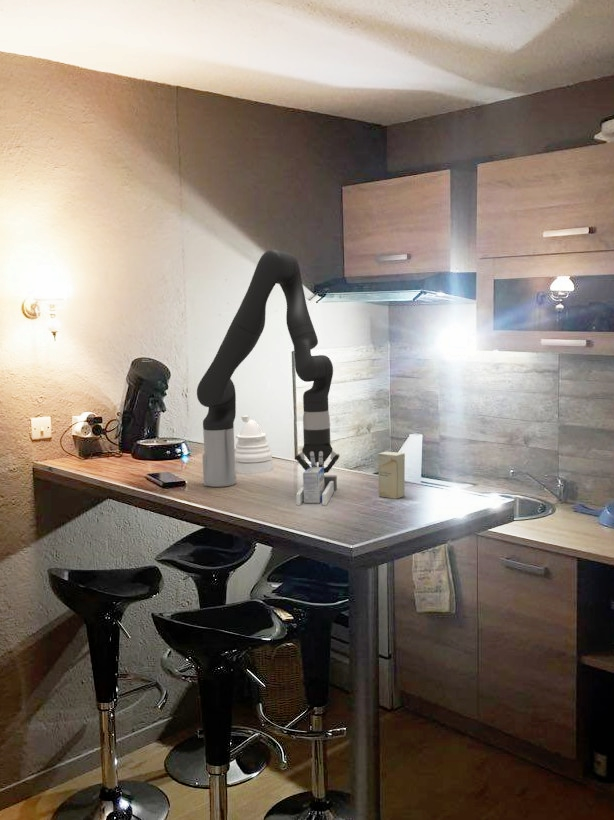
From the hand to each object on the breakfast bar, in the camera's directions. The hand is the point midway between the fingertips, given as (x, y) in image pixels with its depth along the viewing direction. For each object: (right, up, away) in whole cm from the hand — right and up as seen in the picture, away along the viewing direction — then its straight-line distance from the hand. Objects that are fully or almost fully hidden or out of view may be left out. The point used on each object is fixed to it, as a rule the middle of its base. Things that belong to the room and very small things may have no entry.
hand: (318, 487), depth 239 cm
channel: (-1, -2, -3) cm, 4 cm away
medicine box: (-1, -3, -7) cm, 8 cm away
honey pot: (-21, +2, +40) cm, 46 cm away
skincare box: (+20, -2, -5) cm, 21 cm away
